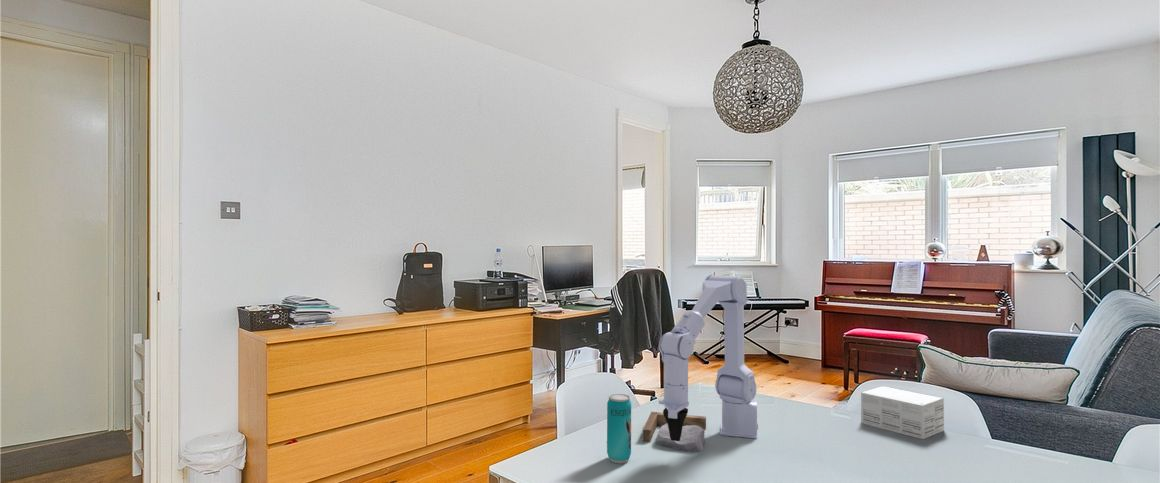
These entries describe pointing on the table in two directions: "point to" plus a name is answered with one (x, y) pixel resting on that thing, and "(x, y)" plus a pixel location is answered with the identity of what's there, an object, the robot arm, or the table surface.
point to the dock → (659, 419)
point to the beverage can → (619, 428)
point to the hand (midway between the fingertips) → (675, 439)
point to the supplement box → (903, 411)
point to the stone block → (683, 438)
